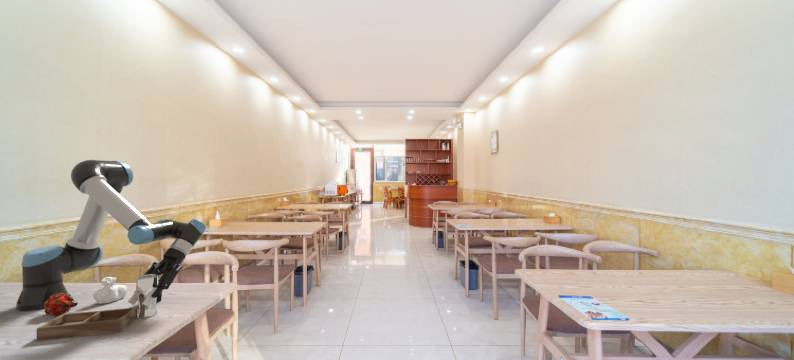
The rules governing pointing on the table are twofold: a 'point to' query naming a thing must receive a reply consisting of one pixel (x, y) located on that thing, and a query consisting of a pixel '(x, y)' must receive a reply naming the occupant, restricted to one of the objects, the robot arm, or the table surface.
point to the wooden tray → (87, 323)
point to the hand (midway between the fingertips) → (138, 304)
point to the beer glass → (146, 294)
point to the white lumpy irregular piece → (110, 291)
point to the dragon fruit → (59, 304)
